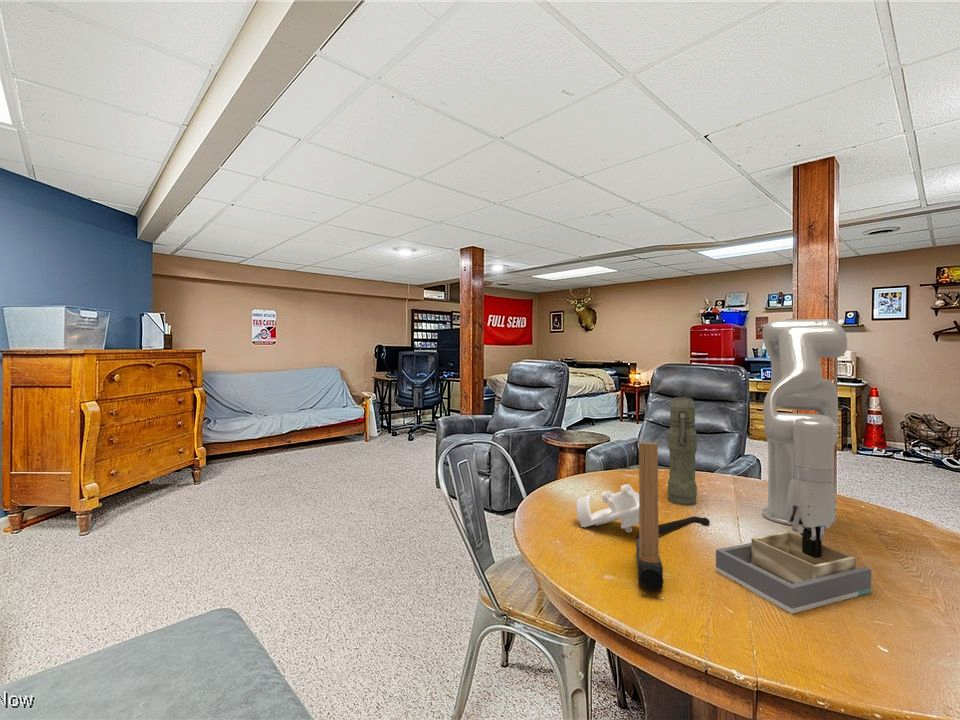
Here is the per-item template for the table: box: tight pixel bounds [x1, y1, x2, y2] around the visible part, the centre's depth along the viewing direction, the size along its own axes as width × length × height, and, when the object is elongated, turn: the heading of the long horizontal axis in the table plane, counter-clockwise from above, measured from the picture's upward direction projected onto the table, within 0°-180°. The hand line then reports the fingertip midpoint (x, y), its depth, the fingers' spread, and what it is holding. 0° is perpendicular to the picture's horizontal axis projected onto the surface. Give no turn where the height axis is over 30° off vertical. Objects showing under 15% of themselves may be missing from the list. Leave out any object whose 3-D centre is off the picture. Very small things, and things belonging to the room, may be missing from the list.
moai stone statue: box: [667, 396, 698, 506], centre depth 152 cm, size 9×12×35 cm
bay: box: [715, 542, 872, 615], centre depth 100 cm, size 23×18×5 cm
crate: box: [750, 531, 857, 584], centre depth 101 cm, size 12×15×6 cm
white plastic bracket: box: [575, 483, 639, 534], centre depth 129 cm, size 20×11×13 cm, turn 53°
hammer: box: [635, 441, 664, 592], centre depth 105 cm, size 20×5×30 cm, turn 162°
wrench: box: [635, 515, 711, 539], centre depth 125 cm, size 5×5×30 cm
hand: (811, 554), depth 102 cm, fingers closed
